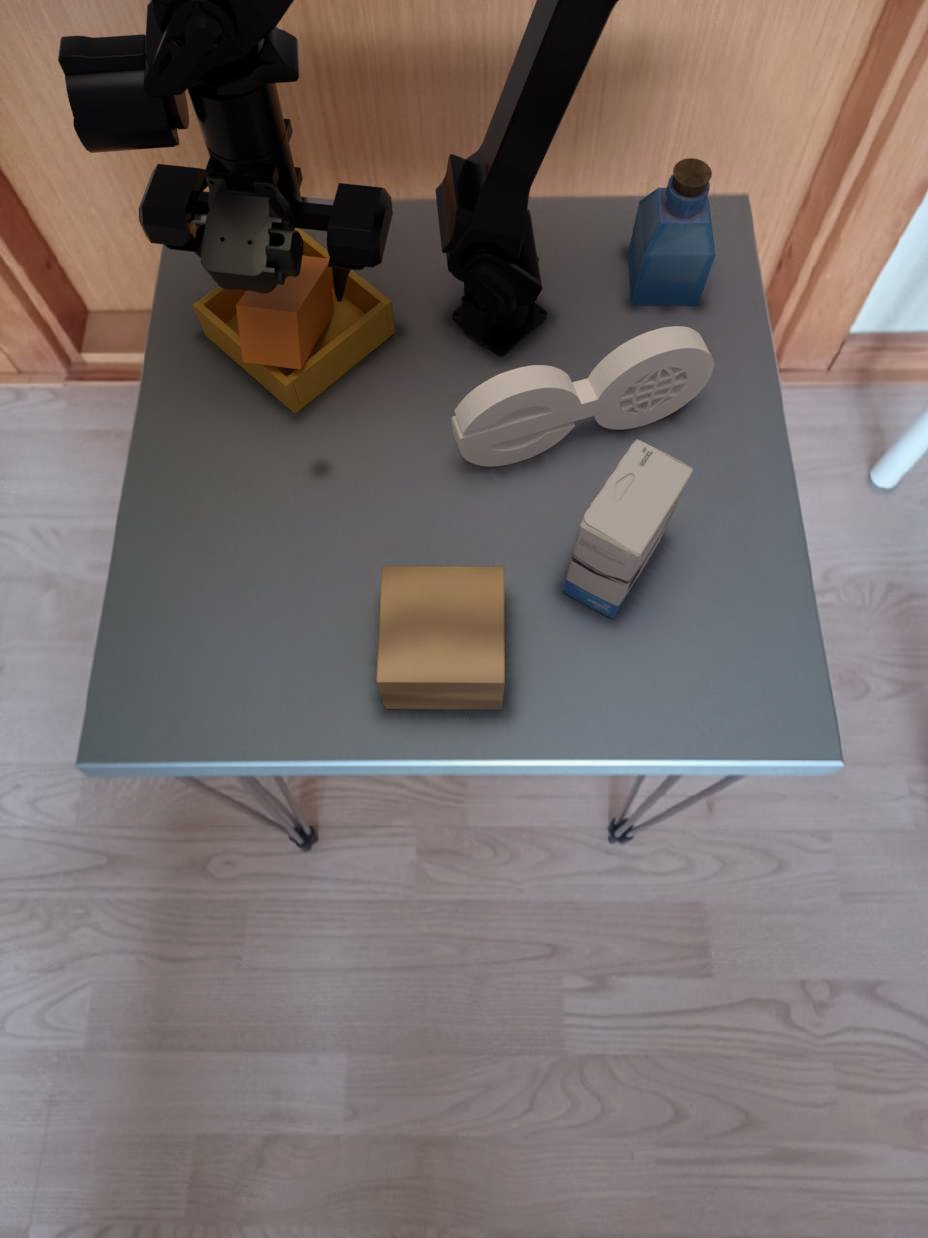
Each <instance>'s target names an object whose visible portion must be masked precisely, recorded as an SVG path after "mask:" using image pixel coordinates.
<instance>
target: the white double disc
mask: <svg viewBox="0 0 928 1238" xmlns="http://www.w3.org/2000/svg"><path fill="white" fill-rule="evenodd" d="M714 369H715V361H714V358H713V356H712V354H711V352H710V351H709V348H708V347H707V345H706V343H705V341H704V338H703V337H702V335H701V334H700V333H699V332H698V331H696V330H695V329H693V328H691V327H689V326H681V325H675V326H674V325H673V326H663V327H660V328H656V329H652V330H650V331H646V332H644V333H642V334H638V335H637V336H635V337H633V338H630V339H629V340H626V341H625V342H624V343H621V344H620V345H619V346H618V347H616V348H614V349H613V350H612V351H611V352H609V353H608V354H607V355H606V356H604V358H602V359H601V360H600V361H599V362H598V364H597V365H596V366H595V367H594V368H593V369H592V371H591V372H590V374H589V375H588V376H587V378H583V379H579V380H575V381H572V379H571V377H570V376H569V374H567V372H566V371H564V370H562V369H560V368H558V367H555V366H553V365H545V364H533V365H526V366H525V365H524V366H520V367H517V368H514V369H510V370H506V371H504V372H501V373H499V374H496V375H495V376H492V377H491V378H489V379H487V380H485V381H484V382H482V383H481V384H479V385H478V386H476V387H475V388H474V389H472V390H471V391H470V392H468V394H466V395H465V396H464V397H463V398H462V400H461V401H460V402H459V403H458V405H456V408H455V409H454V414H455V415H453V416H451V419H450V420H451V423H450V425H451V432H452V434H453V437H454V440H455V443H456V445H457V448H458V450H459V453H460V455H461V457H462V458H463V459H464V460H466V461H467V462H469V463H471V464H472V465H477V466H479V467H480V466H481V467H489V468H491V467H503V466H508V465H512V464H516V463H520V462H522V461H527V460H528V459H532V458H533V457H536V456H537V455H540V454H541V453H544V452H545V451H547V450H549V449H550V448H552V447H553V446H555V445H556V444H558V443H559V442H561V440H563V439H564V438H565V437H567V435H568V434H569V433H570V432H571V431H572V430H573V429H574V428H575V427H576V425H575V422H577V421H580V420H584V419H587V418H591V417H593V418H594V420H595V421H596V422H597V424H598V425H600V426H601V427H602V428H605V429H608V430H617V431H620V430H622V431H623V430H631V429H636V428H640V427H643V426H646V425H650V424H653V423H656V422H657V421H660V420H662V419H664V418H666V417H668V416H670V415H672V414H673V413H675V412H677V411H678V410H679V409H681V408H682V407H684V406H685V405H687V404H688V403H690V401H692V400H693V399H694V398H696V396H697V395H699V394H700V392H701V391H702V390H704V388H705V387H706V385H707V384H708V382H709V381H710V379H711V377H712V375H713V373H714Z"/></svg>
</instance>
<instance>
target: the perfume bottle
mask: <svg viewBox="0 0 928 1238" xmlns="http://www.w3.org/2000/svg"><path fill="white" fill-rule="evenodd" d="M712 171H713V170H712V169H711V167H710V166H709V164H708V163H707V162H705V161H703V160H701V159H698V158H693V157H688V158H683V159H681V160H679V161H678V162H676V163H675V164H674V166H673V169H672V174H671V175H670V177H669V179H668V180H667V184H666V187H657V188H656V189H654V190H653V191H652V192H650V193H649V194H647V195H646V196H644V197H643V198H642V199H640V200H639V201H638V206H637V210H636V214H635V219H634V224H633V228H632V232H631V237H630V242H629V246H628V251H627V259H628V260H627V263H628V275H629V276H628V277H629V289H630V290H629V291H630V292H629V293H630V305H631V306H664V307H665V306H673V307H674V306H678V307H679V306H681V307H682V306H685V307H686V306H687V307H689V306H690V307H691V306H693V307H694V306H695V307H698V306H699V304H700V301H701V298H702V295H703V292H704V289H705V287H706V284H707V281H708V278H709V275H710V272H711V269H712V267H713V264H714V262H715V258H716V249H715V240H714V233H713V232H714V231H713V224H712V215H711V214H712V213H711V206H710V205H711V204H710V200H709V197H708V196H709V192H710V186H711V185H710V184H711V183H710V181H711V178H712V176H713V172H712Z"/></svg>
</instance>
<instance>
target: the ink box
mask: <svg viewBox="0 0 928 1238" xmlns="http://www.w3.org/2000/svg"><path fill="white" fill-rule="evenodd" d="M693 472H694V468H692V467H691V466H689V465H688V464H686V463H684V462H683V461H681V460H679V459H678V458H675V457H673V456H672V455H670V454H668V453H666V452H664V451H662V450H660V449H658V448H656V447H655V446H652V445H651V444H648V443H646V442H644V441H643V440H641V439H638V438H636V439H635V440H634V441H633V443H632V444H631V445H630V446H629V448H628V450H627V451H626V453H625V454H624V455H623V457H622V458H621V459H620V460H619V462H618V464H617V465H616V467H615V469H614V471H612V473H611V474H610V476H609V477H608V478H607V480H606V481H605V483H604V485H603V487H602V488H601V490H600V491H599V493H598V494H597V495H596V496H595V497H594V499H593V500H592V502H591V504H590V505H589V507H588V508H587V509H586V510H585V512H584V513H583V518H582V520H581V521H580V524H579V528H578V531H577V532H578V533H577V535H576V536H577V537H576V540H575V544H574V548H573V552H572V556H571V559H570V564H569V566H568V570H567V574H566V578H565V581H564V584H563V587H562V592H563V593H564V594H565V595H566V596H568V597H570V598H572V599H574V600H576V601H577V602H579V603H581V604H583V605H585V606H587V607H589V608H590V609H592V610H594V611H596V612H598V613H600V614H602V615H604V616H606V617H607V618H610V619H614V618H615V616H616V615H617V613H618V611H619V610H620V608H621V607H622V605H623V603H624V602H625V600H626V599H627V596H628V595H629V593H630V591H631V590H632V588H633V587H634V585H635V583H636V582H637V580H638V579H639V578H640V575H641V574H642V572H643V570H644V568H645V567H646V566H647V564H648V562H649V560H650V558H651V557H652V555H653V554H654V552H655V550H656V549H657V547H658V545H659V543H660V542H661V539H662V537H663V535H664V533H665V531H666V529H667V527H668V525H669V523H670V520H671V518H672V516H673V515H674V514H673V513H674V512H675V509H676V507H677V505H678V503H679V500H680V498H681V496H682V494H683V492H684V490H685V488H686V486H687V483H688V482H689V479H690V478H691V476H692V474H693Z"/></svg>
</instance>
